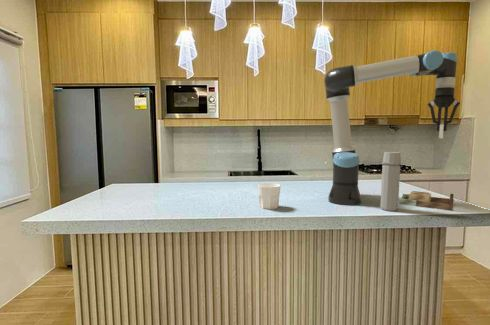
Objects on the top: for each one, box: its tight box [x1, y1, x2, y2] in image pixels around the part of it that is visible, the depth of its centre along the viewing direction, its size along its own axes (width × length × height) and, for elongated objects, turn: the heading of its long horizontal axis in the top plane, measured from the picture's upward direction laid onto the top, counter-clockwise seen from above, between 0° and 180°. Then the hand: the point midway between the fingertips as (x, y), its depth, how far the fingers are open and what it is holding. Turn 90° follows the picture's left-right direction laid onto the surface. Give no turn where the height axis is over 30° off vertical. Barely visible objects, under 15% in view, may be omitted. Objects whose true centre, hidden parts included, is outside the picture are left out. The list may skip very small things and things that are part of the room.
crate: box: [408, 190, 432, 202], centre depth 143 cm, size 8×8×5 cm
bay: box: [398, 193, 454, 211], centre depth 142 cm, size 21×14×5 cm, turn 56°
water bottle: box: [379, 151, 402, 212], centre depth 132 cm, size 9×8×25 cm
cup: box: [257, 182, 281, 210], centre depth 136 cm, size 10×10×10 cm
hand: (440, 138), depth 145 cm, fingers closed
